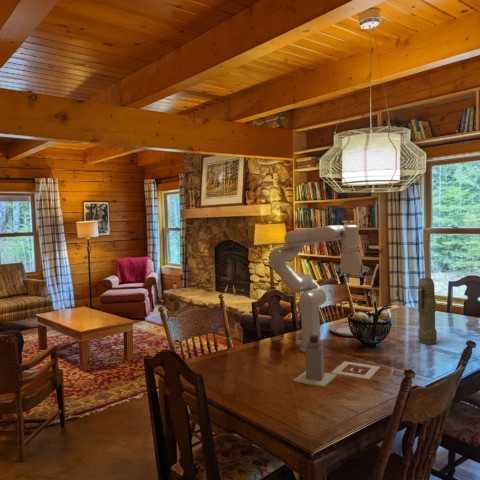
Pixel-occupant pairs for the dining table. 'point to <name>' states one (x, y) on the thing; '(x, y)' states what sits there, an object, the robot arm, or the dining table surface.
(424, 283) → the thermos
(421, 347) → the dining table surface
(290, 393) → the dining table surface
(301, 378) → the sage coaster
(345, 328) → the dinner plate
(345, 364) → the frame
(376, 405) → the dining table surface
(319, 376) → the perfume bottle
